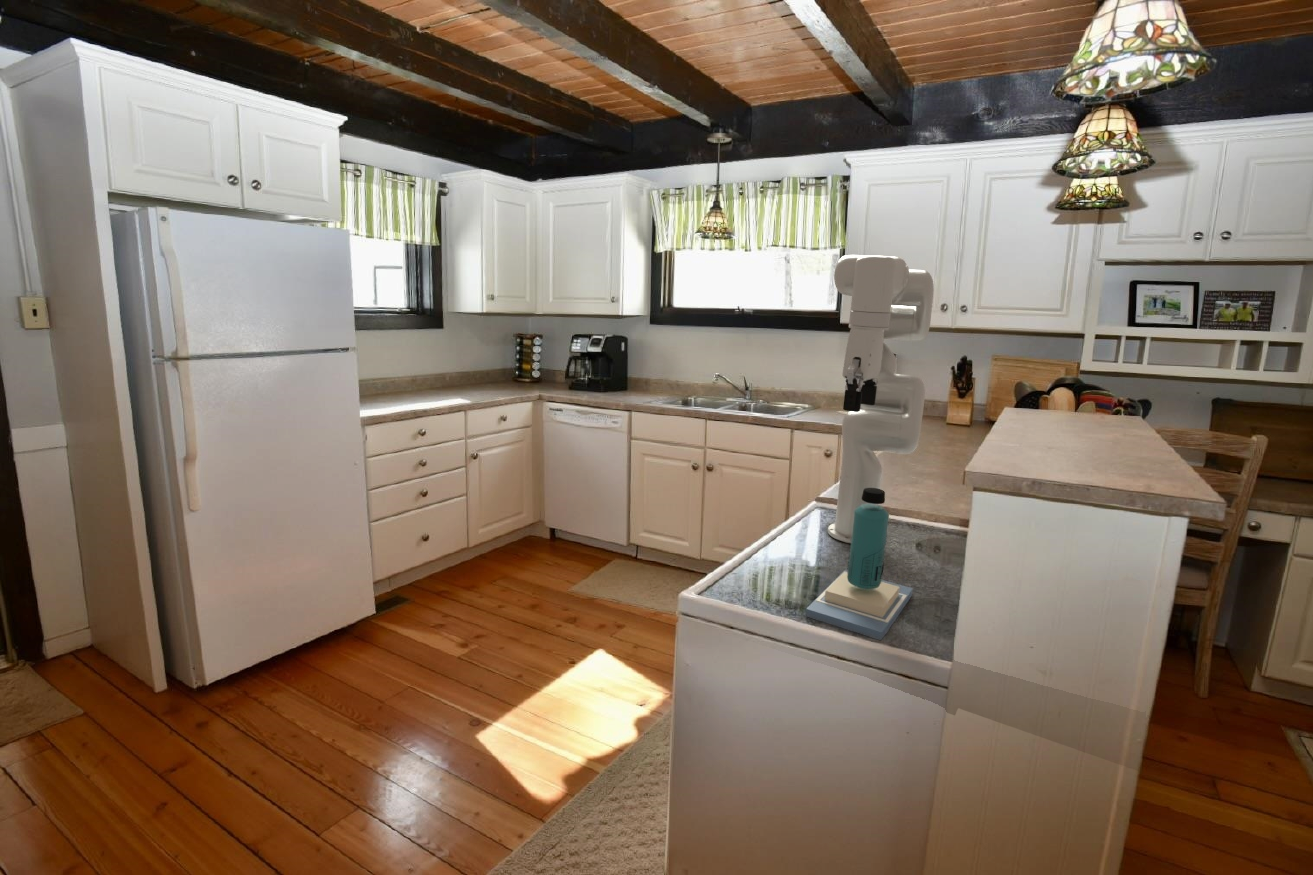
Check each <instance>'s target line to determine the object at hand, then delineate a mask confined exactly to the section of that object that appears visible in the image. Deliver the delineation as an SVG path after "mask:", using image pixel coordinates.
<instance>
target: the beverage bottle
mask: <svg viewBox="0 0 1313 875" xmlns="http://www.w3.org/2000/svg"><path fill="white" fill-rule="evenodd" d="M885 492H886V491H885V490H883V489H881V488H880V489H877V488H865V489H864V490H863V495H862V500H863V501H865V502H867V503H872V504H863V505H861V506H859V507H858V508H856V509H855V511H854V523H853V531H852V538H851V539H852V540H851V543H850V547H849V548H850V549H849V554H848V561H847V562H848V563H847V568H846V570H848V571H847V574H848V576H847V578H848V581H849V583H850V584H852V585H854V586H856V587H859V588H864V589H875V588H878V587H879V586H880V584H881V583H882V582H881V580H883V573H884V566H885V565H884V564H885V554H886V545H887V543H888V542H887V535H888V525H889V524H888V523H889V517H890V514H889V512H888V511H887V510H886V508H884V507H883V506H881V505H882V504H884V503H885V501H886V493H885ZM875 504H878V505H875Z"/></svg>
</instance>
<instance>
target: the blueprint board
mask: <svg viewBox="0 0 1313 875" xmlns="http://www.w3.org/2000/svg"><path fill="white" fill-rule="evenodd" d="M847 571H848V570H847V569H844V570H843V571H841V573H840V574H839V575H838V576H837V577H836V578H835V579H834V580H833V581H832V582H831V583H830V584H829V585H828V586H827V587H826V589H824V590H823V591H822V592H821V594H819V596H817V598H815V599H814V600H813V601H812V603H810V604H809V605H808V606H807V608H806V609H805V617H807V618H811V619H812V620H813V619H814V620H817V621H820V622H822V623H826V624H829V625H832V626H835V627H838V628H842V629H845V630H848V631H851V632H854V633H856V634H860V635H863V636H866V637H869V638H873V639H877V640H880V641H882V640H883V638H884V637H885V635H886V634H887V633H888V632H889V629H890V628H891V626H892V625H893V624H894V622H896V620H897V618H898V616H899V615H900V614H901V612H902V611H903V609H904V608H905V606H906V605H907V603H908V602H909V601H910V599H911V598H912V597H913V592H914V588H913V587H909V586H906V585H902V584H899V583H895V582H891V581H887V580H884V579H882V580H881V582H882V583H881V584H880V586H879V587H878V588H875V589H864V588H859V587H856V586H854V585H852V584H850V583H849V581H848V578H847V576H848V574H847ZM886 632H887V633H886Z"/></svg>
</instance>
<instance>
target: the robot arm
mask: <svg viewBox="0 0 1313 875" xmlns="http://www.w3.org/2000/svg"><path fill="white" fill-rule="evenodd" d="M833 272H834V274H833V278H834V285H835V288H836V290H837V291H838V292H839V294H841V295H845V296H849V297H851V300H850V301H851V302H850V310H849V311H850V312H849V322H848V328H849V329H850V330H849V335H848V338H847V343H846V348H845V349H846V350H845V355H844V361H843V366H842V377H843V378H844V379H845V386H844V398H843V405H842V409H843V411H847V412H846V413H845V415H844V416H843V418H842V423H841V435H842V458H841V466H840V477H839V486H838V493H837V504H836V513H835V519H834V520H835V521H834V523H831V524H830V525H828V526H827V533H828V535H829V536H831V537H832V538H834V539H835V540H837V541H839V542H840V541H841V542H844V543H847V544H851V540H852V539H851V538H852V531H853V523H854V511H855V509H856V508H858V507H859V506H861V505H863V504H872V503H867V502H865V501H863V500H862V495H863V490H864V489H865V488H877V489H881V487H882V477H883V466H882V463H881V461H880V460H879V457H877V455H876V453H875V452H885V453H891V454H892V453H893V454H900V455H909V454H912V453H914V452H915V450H916V449H917V447H918V446H919V442H920V436H921V431H922V430H921V429H922V423H923V422H922V421H923V416H924V415H923V414H924V408H925V406H924V405H925V397H926V390H925V389H926V388H925V384H924V381H923V380H922V379H921V378H920V377H918V376H915V375H910V374H902V373H901V374H899V373H896V369H897V363H898V362H897V357H896V355H895V354H894V353H893V351H892V350H891V349H890V347H889V346H888V345H887V344H886V343H885V342H884V340H895V341H896V340H898V341H908V342H919V341H922V340H924V339H925V338H926V337H927V336H928V334H929V331H930V326H931V319H932V310H933V304H934V281H933V280H934V279H933V278H932V274H931V273H930V272H928V271H927V270H924V269H910V268H909V266H908V265H907V263H906V261H905V260H904V259H903V258H901V257H898V256H889V255H872V254H871V255H868V254H867V255H864V254H860V255H859V254H848V255H847V254H846V255H843V256H841V257H840V259H839V260H838V261H837V263H836V265H835V268H834V271H833ZM875 505H879V504H875Z"/></svg>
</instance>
